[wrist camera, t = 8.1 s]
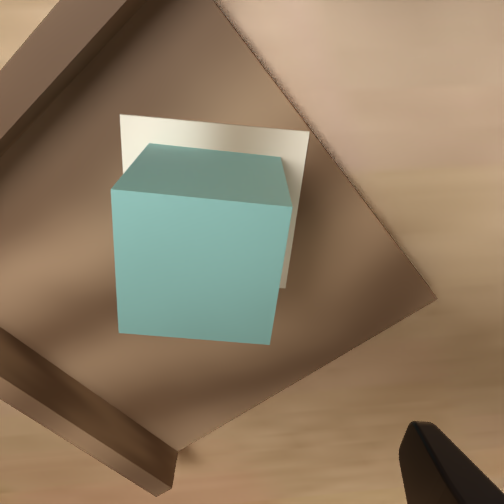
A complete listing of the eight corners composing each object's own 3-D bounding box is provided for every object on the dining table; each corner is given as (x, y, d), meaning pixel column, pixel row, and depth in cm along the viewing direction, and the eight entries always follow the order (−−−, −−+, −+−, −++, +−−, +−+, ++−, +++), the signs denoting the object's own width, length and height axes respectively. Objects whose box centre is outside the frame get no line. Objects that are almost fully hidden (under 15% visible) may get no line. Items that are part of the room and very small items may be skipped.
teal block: (149, 258, 18) (118, 333, 14) (148, 143, 16) (110, 189, 11) (264, 268, 18) (269, 344, 14) (280, 157, 16) (292, 207, 12)
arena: (-121, 248, 19) (-182, 285, 16) (160, -71, 13) (138, -94, 11) (165, 448, 26) (156, 496, 23) (430, 289, 20) (458, 329, 17)
